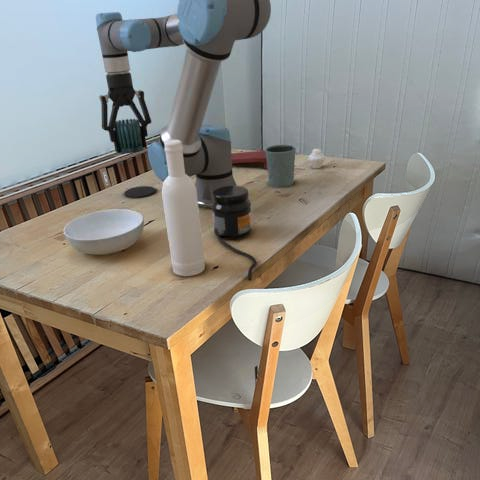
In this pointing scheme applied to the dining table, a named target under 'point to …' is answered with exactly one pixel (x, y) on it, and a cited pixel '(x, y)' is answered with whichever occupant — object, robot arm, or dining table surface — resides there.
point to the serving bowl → (104, 231)
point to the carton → (250, 157)
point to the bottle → (182, 214)
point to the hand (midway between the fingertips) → (131, 149)
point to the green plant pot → (280, 165)
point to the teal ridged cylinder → (129, 135)
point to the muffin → (316, 158)
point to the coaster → (140, 192)
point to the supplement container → (231, 212)
